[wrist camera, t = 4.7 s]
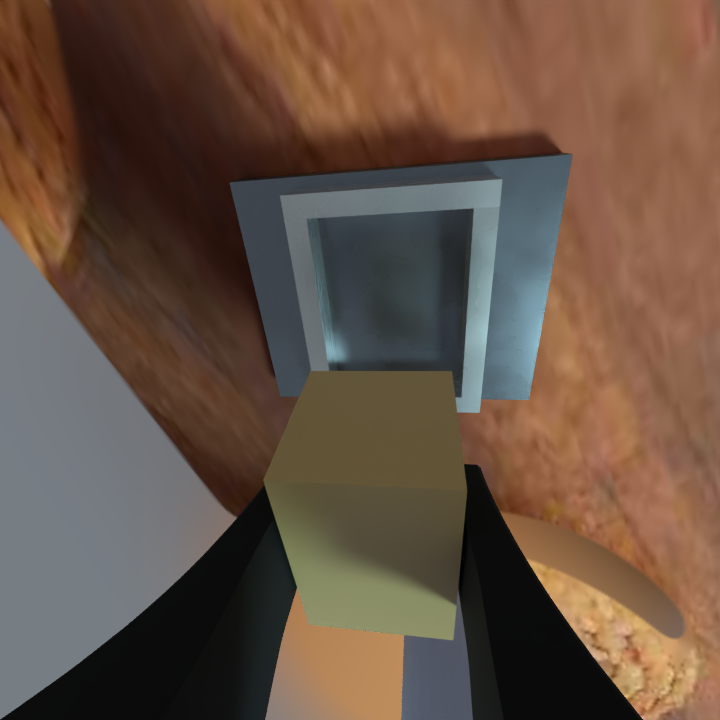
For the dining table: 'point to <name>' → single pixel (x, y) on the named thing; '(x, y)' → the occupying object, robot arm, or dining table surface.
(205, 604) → the robot arm
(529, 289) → the plate
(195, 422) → the dining table surface
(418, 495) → the block
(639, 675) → the dining table surface
